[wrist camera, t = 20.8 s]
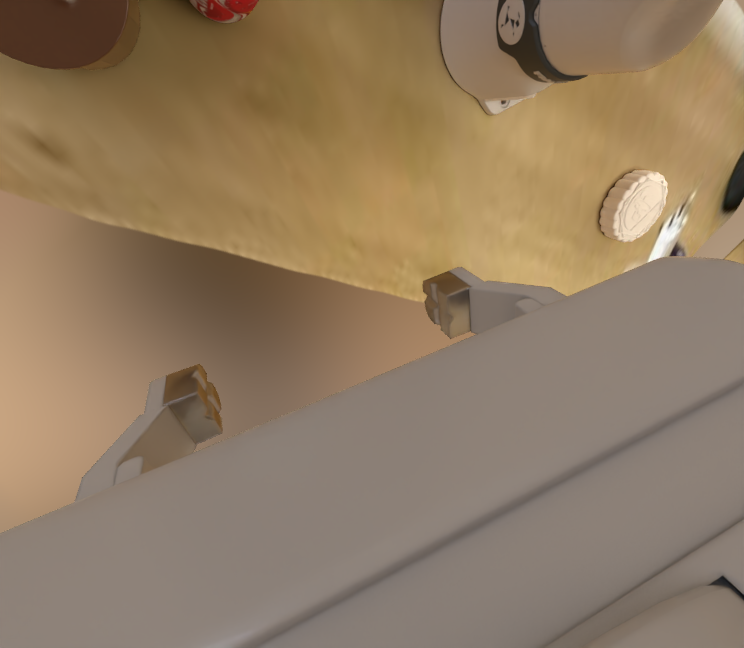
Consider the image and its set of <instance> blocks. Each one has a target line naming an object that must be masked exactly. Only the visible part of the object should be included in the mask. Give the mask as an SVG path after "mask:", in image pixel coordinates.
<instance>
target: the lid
mask: <svg viewBox="0 0 744 648" xmlns="http://www.w3.org/2000/svg"><path fill="white" fill-rule="evenodd" d="M129 9H130V0H0V52H1V53H3V54H5V55H7V56H9V57H11V58H13V59H16V60H19V61H21V62H24V63H27V64H31V65H34V66H38V67H42V68H49V69H58V70H70V69H78V68H83V67H86V66H90V65H92V64H94V63H96V62H98V61H100V60H102V59H103V58H105V57H106V56H107V55H109V54H110V53H111V52H112V50H113V49H114V48H115V47H116V46H117V44H118V43H119V41H120V40H121V38H122V36H123V34H124V31H125V29H126V25H127V22H128V18H129Z"/></svg>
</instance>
